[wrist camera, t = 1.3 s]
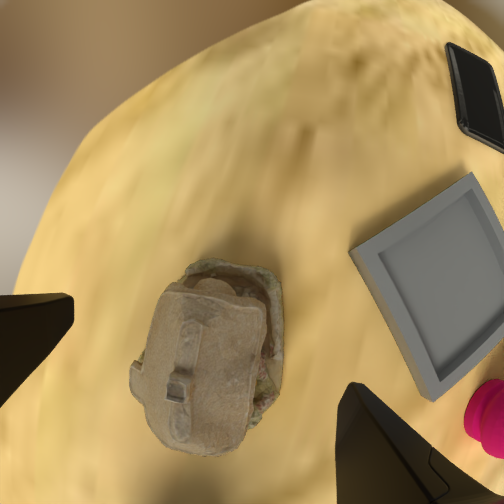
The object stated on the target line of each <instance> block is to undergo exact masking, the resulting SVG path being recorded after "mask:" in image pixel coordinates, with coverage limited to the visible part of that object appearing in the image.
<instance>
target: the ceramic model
mask: <svg viewBox="0 0 504 504" xmlns="http://www.w3.org/2000/svg"><path fill="white" fill-rule="evenodd" d="M185 272H186V275H185V276H184V277H183V278H182V279H180V280H178V282H177V283H176V282H173V283H171V284H170V285H169V286H168V287H167V288H166V290H165V291H164V293H163V294H162V295H161V296H160V298H159V300H158V303H157V306H156V308H155V312H154V316H153V319H152V323H151V327H150V330H149V334H148V338H147V344H146V349H145V350H144V351H143V352H142V354H141V355H140V357H139V359H138V361H136V360H134V362H133V363H132V365H131V367H130V379H129V386H130V390H131V393H132V395H133V396H134V397H135V398H136V399H137V400H138V401H139V402H140V403H141V404H143V406H144V409H145V415H146V420H147V423H148V425H149V427H150V429H151V431H152V432H153V433H154V434H155V435H156V436H157V438H158V439H159V440H160V441H161V443H162V444H163V445H165V446H166V447H168V448H170V449H172V450H176V451H181V452H185V453H188V454H196V455H199V456H204V457H205V456H217V457H218V456H222V455H225V454H227V453H228V452H230V451H231V452H232V451H233V450H234V449H237V448H238V446H239V444H240V443H241V442H242V441H243V439H244V437H245V435H246V432H247V429H252V428H254V427H255V426H256V425H257V424H258V423H259V422H260V420H261V419H262V414H263V413H264V412H265V411H266V410H267V409H268V408H269V407H270V406H271V405H272V404H273V403H274V402H275V400H276V399H277V398H278V396H279V395H280V394H279V390H280V386H281V380H282V370H283V358H284V351H283V346H284V341H283V334H284V318H283V306H282V300H281V295H282V288H281V282H279V281H278V279H277V277H276V276H275V275H274V273H272V272H270V271H269V270H268V269H265V268H262V267H259V266H256V267H255V266H246V265H239V264H234V263H230V262H226V261H224V260H222V259H221V260H220V259H216V258H211V259H206V260H200V261H197V262H195V263H194V264H190V265H189V267H188V268H187V269H186V270H185Z"/></svg>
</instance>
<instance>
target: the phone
mask: <svg viewBox="0 0 504 504" xmlns="http://www.w3.org/2000/svg"><path fill="white" fill-rule="evenodd" d="M445 52H446V57H447V61H448V66H449V71H450V77H451V83H452V89H453V95H454V102H455V110H456V118H457V125H458V127H459V129H460V130H461V131H462V132H463V133H464V134H465V135H467V136H469V137H471V138H473V139H475V140H478V141H480V142H482V143H483V144H485V145H487V146H489V147H491V148H493V149H495V150H497V151H499V152H501V153H503V154H504V107H503V103H502V99H501V95H500V91H499V87H498V83H497V80H496V76H495V73H494V70H493V67H492V66H491V65H490V64H489V63H488V62H487V61H486V60H484V59H482V58H480V57H478V56H477V55H475V54H473V53H471V52H469V51H467V50H465V49H463V48H461V47H459V46H457V45H455V44H453V43H451V42H448V43H447V44H446V46H445Z"/></svg>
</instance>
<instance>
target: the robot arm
mask: <svg viewBox="0 0 504 504" xmlns="http://www.w3.org/2000/svg"><path fill="white" fill-rule="evenodd" d="M73 322H74V299H73V297H72V296H70V295H68V294H65V293H46V294H24V295H0V408H1V406H2V405H3V404H4V403H5V402H6V401H7V400H8V399H9V397H10V396H11V395H12V394H13V393H14V392H15V391H16V390H17V389H18V387H19V386H20V385H21V384H22V383H23V382H24V381H25V380H26V379H27V378H28V377H29V375H30V374H31V373H32V372H33V371H34V370H35V369H36V368H37V367H38V366H39V365H40V364H41V363H42V362H43V361H44V360H45V359H46V357H47V356H48V355H49V354H50V353H51V352H52V350H53V349H54V348H55V347H56V345H57V344H58V343H59V341H60V340H61V339H62V338H63V336H64V335H65V334H66V333H67V331H68V330H69V329H70V328H71V326H72V325H73ZM335 461H336V486H337V504H504V496H500V495H498V494H495V493H493V492H492V491H490V490H489V489H487V488H486V487H484V486H483V485H482V484H480V483H479V482H477V481H476V480H475V479H473V478H472V477H470V476H469V475H468V474H466V473H465V472H463V471H462V470H461V469H459V468H458V467H457V466H455V465H454V464H453V463H452V462H450V461H449V460H448V459H447V458H446V457H444V456H443V455H442V454H441V453H440V452H439V451H437V450H436V449H435V448H434V447H432V445H431V444H429V443H428V442H427V441H426V440H425V439H424V438H423V437H422V436H420V435H419V434H418V433H417V432H416V431H415V430H414V429H413V428H411V427H410V426H409V425H408V424H407V423H406V422H405V421H404V420H403V419H401V418H400V417H399V416H398V415H397V414H396V413H395V412H394V411H393V410H392V409H390V408H389V407H388V406H387V405H386V404H385V403H384V402H383V401H382V400H381V399H379V398H378V397H377V396H376V395H375V394H374V393H373V392H372V391H371V390H370V389H369V388H367V387H366V386H365V385H364V384H362V383H356V382H351V383H349V385H348V386H347V388H346V390H345V392H344V394H343V396H342V398H341V400H340V402H339V405H338V411H337V428H336V442H335Z"/></svg>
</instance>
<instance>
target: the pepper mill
mask: <svg viewBox="0 0 504 504" xmlns="http://www.w3.org/2000/svg"><path fill="white" fill-rule="evenodd" d="M464 427H465V431H466V433H467V434H468V435H469V436H470V437H472V438H474V439H475V440H477V441H479V442H481V444H482V447H483V449H484V450H485V452H487V453H488V454H489V455H491V456H494V457H496V458H501V459H504V381H503V380H500V379H493V380H490V381H488V382H486V383H485V384H483V385H482V386H481V387H480V388H479V389H478V390H477V391H476V392H475V394H474V395H473V397H472V398H471V400H470V402H469V404H468V406H467V409H466V413H465V416H464Z"/></svg>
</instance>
